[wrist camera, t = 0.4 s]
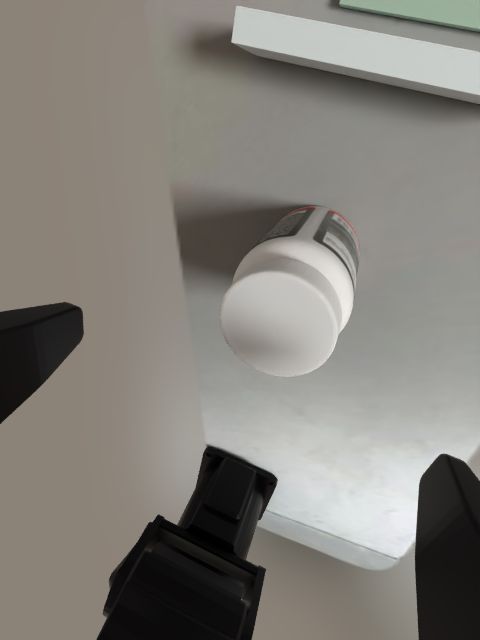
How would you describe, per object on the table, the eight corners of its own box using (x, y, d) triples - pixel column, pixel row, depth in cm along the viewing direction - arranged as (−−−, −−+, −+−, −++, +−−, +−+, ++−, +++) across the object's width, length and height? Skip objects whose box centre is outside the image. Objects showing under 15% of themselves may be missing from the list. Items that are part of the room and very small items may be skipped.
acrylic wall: (530, 115, 13) (566, 113, 10) (256, 55, 15) (231, 42, 12) (548, 83, 12) (590, 73, 10) (261, 25, 14) (236, 5, 12)
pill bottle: (264, 281, 20) (203, 365, 13) (276, 197, 17) (209, 246, 10) (347, 301, 19) (328, 404, 12) (373, 214, 16) (368, 281, 9)
